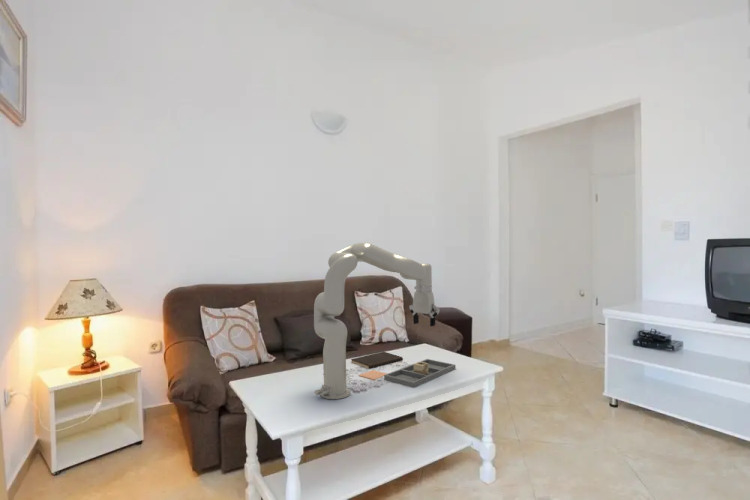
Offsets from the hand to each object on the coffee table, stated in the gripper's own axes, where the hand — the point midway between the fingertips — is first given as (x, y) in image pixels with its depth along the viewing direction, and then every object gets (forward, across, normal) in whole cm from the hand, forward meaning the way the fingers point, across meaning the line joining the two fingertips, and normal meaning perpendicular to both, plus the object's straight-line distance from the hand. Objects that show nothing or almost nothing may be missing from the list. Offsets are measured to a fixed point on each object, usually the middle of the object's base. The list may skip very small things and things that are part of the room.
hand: (424, 324), depth 199 cm
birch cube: (+23, 0, -3) cm, 23 cm away
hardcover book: (+24, -32, +1) cm, 40 cm away
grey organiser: (+24, 0, -3) cm, 24 cm away
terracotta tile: (+24, -17, -18) cm, 34 cm away
